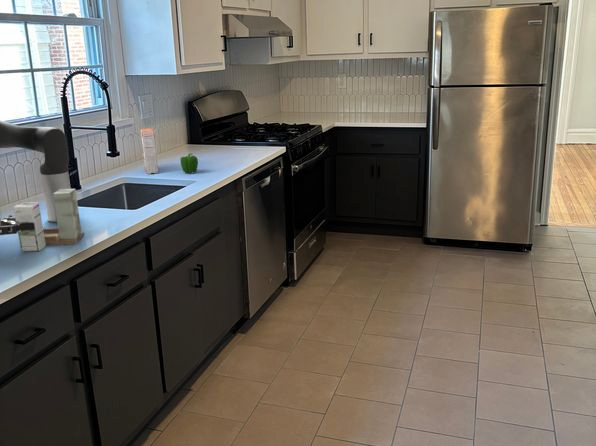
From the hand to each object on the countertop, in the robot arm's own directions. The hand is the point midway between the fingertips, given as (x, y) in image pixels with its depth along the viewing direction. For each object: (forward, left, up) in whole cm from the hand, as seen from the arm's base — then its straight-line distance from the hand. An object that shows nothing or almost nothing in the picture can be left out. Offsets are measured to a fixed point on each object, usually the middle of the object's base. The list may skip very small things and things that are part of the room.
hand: (37, 222), depth 179 cm
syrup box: (0, -2, -9) cm, 9 cm away
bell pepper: (-109, +32, -9) cm, 114 cm away
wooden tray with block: (-8, +2, -8) cm, 12 cm away
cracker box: (-115, +12, -9) cm, 116 cm away
